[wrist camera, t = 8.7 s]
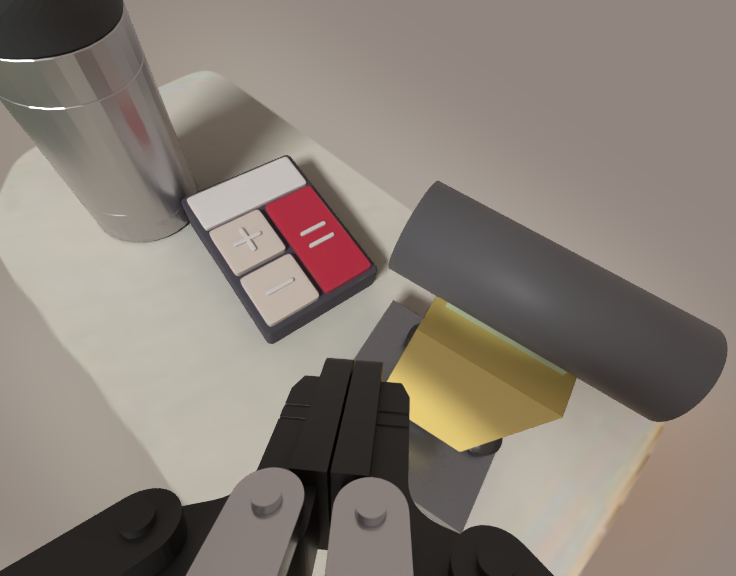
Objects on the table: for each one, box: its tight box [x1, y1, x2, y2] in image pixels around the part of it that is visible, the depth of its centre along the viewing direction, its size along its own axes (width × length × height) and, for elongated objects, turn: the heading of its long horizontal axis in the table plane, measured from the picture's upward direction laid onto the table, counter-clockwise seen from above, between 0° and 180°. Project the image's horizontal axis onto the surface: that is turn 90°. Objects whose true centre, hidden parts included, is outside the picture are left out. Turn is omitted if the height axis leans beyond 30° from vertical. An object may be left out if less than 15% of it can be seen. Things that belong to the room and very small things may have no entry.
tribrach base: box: [354, 300, 502, 534], centre depth 30 cm, size 12×12×4 cm
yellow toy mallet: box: [387, 181, 727, 452], centre depth 20 cm, size 10×5×18 cm, turn 58°
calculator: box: [181, 155, 377, 344], centre depth 37 cm, size 11×4×15 cm
